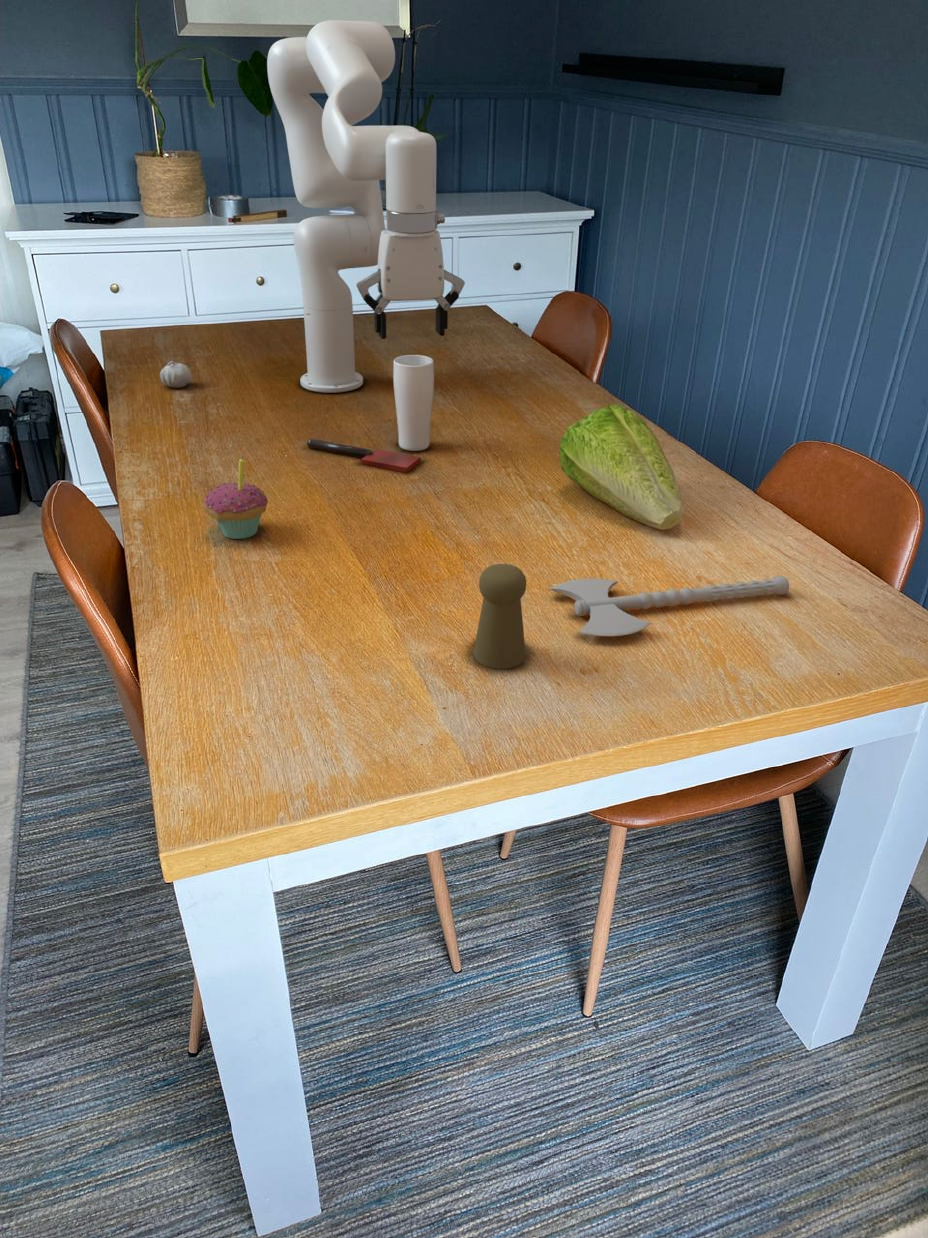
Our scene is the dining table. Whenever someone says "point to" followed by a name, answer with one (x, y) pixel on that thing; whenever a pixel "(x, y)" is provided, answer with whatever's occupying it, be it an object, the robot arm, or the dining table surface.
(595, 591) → the axe
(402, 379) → the drinking glass
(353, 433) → the dining table surface
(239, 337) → the dining table surface
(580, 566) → the dining table surface
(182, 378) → the garlic
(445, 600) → the dining table surface
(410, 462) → the spatula
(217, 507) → the cupcake
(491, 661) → the chess pawn
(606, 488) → the lettuce
